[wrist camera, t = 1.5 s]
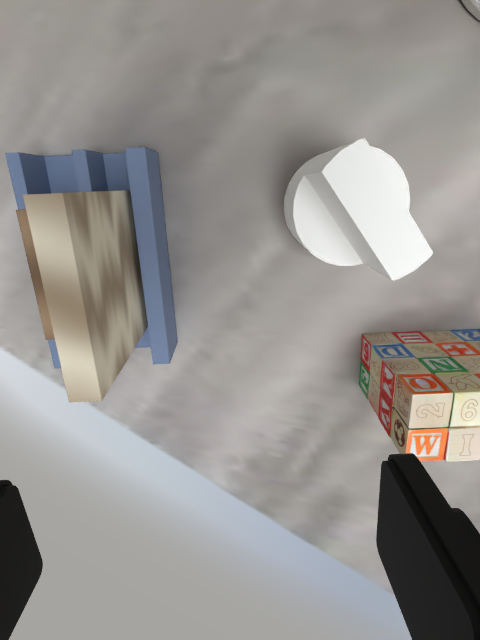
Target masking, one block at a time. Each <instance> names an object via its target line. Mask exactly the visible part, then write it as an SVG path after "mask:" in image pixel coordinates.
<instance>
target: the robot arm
mask: <svg viewBox="0 0 480 640" xmlns="http://www.w3.org/2000/svg"><path fill="white" fill-rule="evenodd" d="M461 1H462V2H463V4H464V5H465V7H466V8H467V10H468V11H469V12H471V13H472V14H473V15H474V16H475V17H476V18H477V19H478V20H480V0H461ZM376 541H377V548H378V552H379V555H380V558H381V561H382V563H383V566H384V568H385V571H386V573H387V576H388V579H389V581H390V584H391V586H392V589H393V591H394V594H395V597H396V599H397V601H398V604H399V607H400V609H401V612H402V614H403V617H404V620H405V622H406V625H407V627H408V630H409V632H410V635H411V637H412V640H480V534H479V532H478V531H477V529H476V528H475V527H474V525H473V524H472V522H471V521H470V519H469V518H468V517H467V516H466V514H465V513H464V512H463V511H462V510H460V509H459V508H451V507H450V505H449V504H448V503H447V501H446V500H445V498H444V497H443V495H442V494H441V492H440V491H439V489H438V488H437V486H436V485H435V483H434V482H433V480H432V479H431V477H430V476H429V474H428V473H427V471H426V470H425V468H424V467H423V465H422V464H421V462H420V461H419V459H418V458H417V457H416V455H415V454H413V453H406V454H391V455H389V457H388V461H383V462H382V465H381V479H380V493H379V508H378V523H377V538H376ZM42 564H43V563H42V558H41V555H40V552H39V549H38V546H37V543H36V540H35V537H34V534H33V532H32V528H31V525H30V522H29V520H28V517H27V514H26V511H25V508H24V505H23V502H22V499H21V496H20V493H19V490H18V488H17V487H16V486H13V485H12V483H11V482H10V481H9V480H0V640H9V637H10V636H11V634H12V632H13V629H14V628H15V626H16V623H17V622H18V620H19V618H20V616H21V614H22V612H23V610H24V608H25V606H26V604H27V602H28V600H29V598H30V596H31V594H32V592H33V590H34V588H35V586H36V584H37V582H38V580H39V578H40V575H41V572H42V566H43V565H42Z"/></svg>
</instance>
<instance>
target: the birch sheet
mask: <svg viewBox="0 0 480 640" xmlns="http://www.w3.org/2000/svg"><path fill="white" fill-rule="evenodd" d="M23 198H24V202H25V207H26V211H27V216H28V220H29V225H30V229H31V234H32V238H33V243H34V247H35V252H36V256H37V261H38V265H39V270H40V274H41V279H42V283H43V288H44V292H45V297H46V301H47V306H48V310H49V315H50V319H51V324H52V328H53V333H54V337H55V342H56V346H57V351H58V355H59V360H60V364H61V369H62V373H63V378H64V382H65V386H66V391H67V395H68V400H69V402H87V401H102V400H103V398H104V397H105V395H106V393H107V392H108V390H109V389H110V387H111V385H112V384H113V382H114V381H115V379H116V377H117V376H118V374H119V372H120V371H121V369H122V368H123V366H124V364H125V363H126V361H127V360H128V358H129V356H130V355H131V353H132V352H133V350H134V348H135V347H136V345H137V344H138V342H139V340H140V339H141V337H142V336H143V334H144V332H145V331H146V329H147V327H148V321H147V313H146V306H145V298H144V290H143V283H142V275H141V267H140V260H139V252H138V244H137V237H136V229H135V222H134V214H133V206H132V199H131V191H130V190H123V191H99V192H75V193H51V194H27V195H23Z"/></svg>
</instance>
